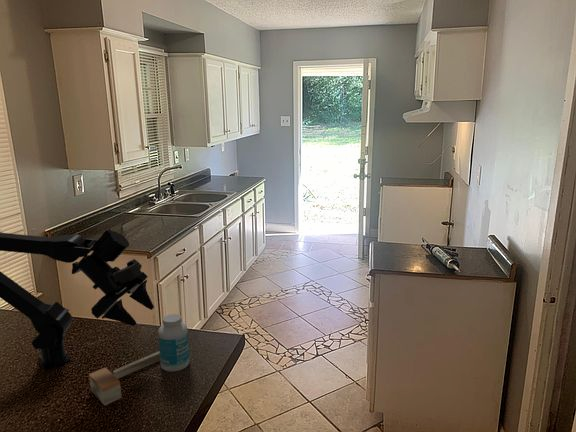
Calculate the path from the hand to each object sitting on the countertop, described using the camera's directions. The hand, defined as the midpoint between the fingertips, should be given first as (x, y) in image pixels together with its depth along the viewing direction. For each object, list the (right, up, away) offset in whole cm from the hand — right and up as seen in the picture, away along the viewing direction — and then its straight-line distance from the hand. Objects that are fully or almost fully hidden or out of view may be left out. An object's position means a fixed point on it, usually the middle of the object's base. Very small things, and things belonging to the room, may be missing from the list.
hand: (144, 316), depth 113 cm
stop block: (-6, -16, -10) cm, 20 cm away
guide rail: (-1, -14, +1) cm, 14 cm away
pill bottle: (+8, -13, +2) cm, 16 cm away
